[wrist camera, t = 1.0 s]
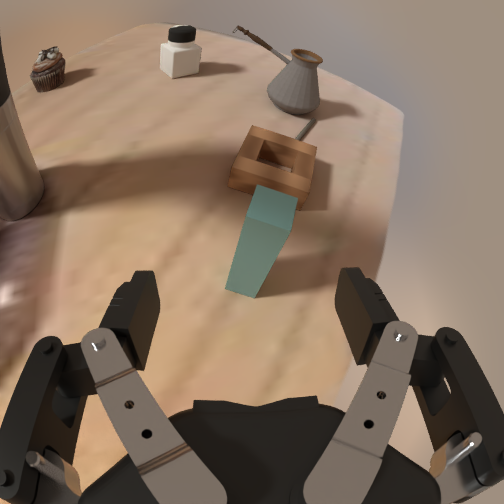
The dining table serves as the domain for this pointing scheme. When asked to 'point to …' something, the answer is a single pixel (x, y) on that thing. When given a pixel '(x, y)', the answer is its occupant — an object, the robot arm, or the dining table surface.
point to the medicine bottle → (180, 52)
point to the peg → (261, 239)
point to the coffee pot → (293, 80)
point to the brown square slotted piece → (274, 150)
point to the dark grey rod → (305, 129)
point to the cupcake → (48, 70)
